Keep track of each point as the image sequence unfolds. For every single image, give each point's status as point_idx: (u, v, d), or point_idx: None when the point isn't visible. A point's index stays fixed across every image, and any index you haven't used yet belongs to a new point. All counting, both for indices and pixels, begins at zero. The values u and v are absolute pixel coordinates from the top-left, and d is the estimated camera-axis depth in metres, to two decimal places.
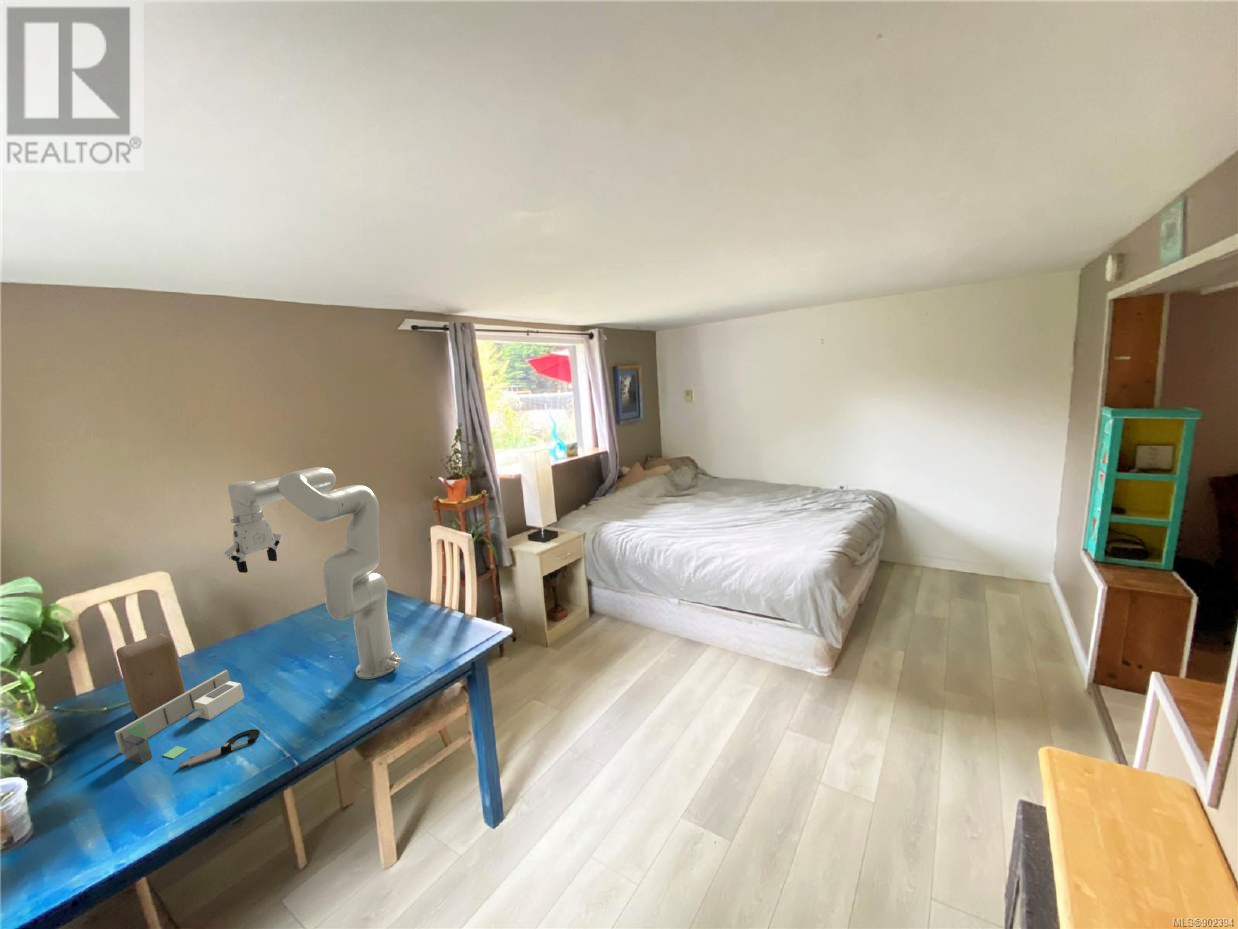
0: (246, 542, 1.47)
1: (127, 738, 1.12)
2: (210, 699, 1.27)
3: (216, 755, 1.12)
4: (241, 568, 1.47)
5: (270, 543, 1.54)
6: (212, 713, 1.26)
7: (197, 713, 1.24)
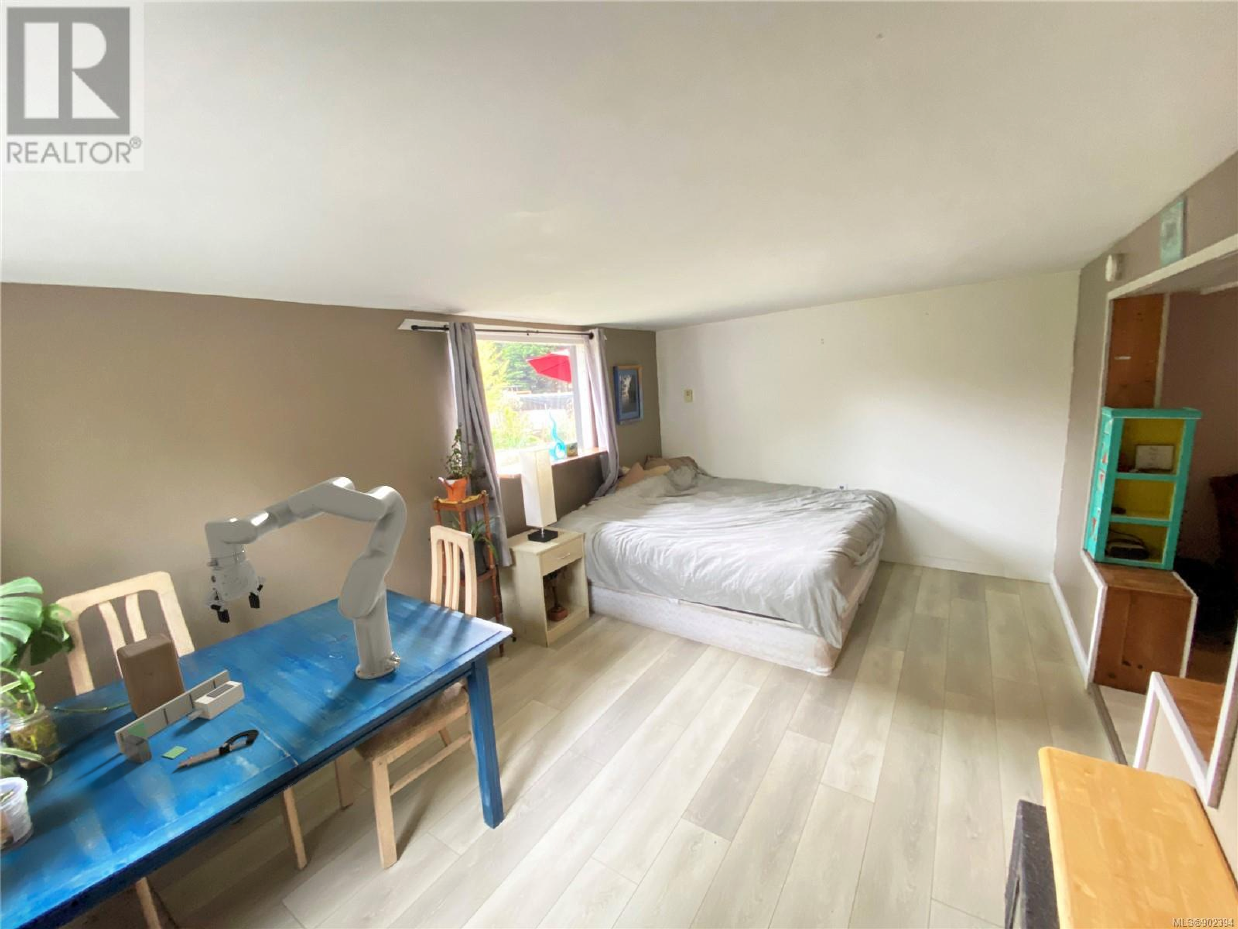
0: (225, 588, 1.29)
1: (127, 738, 1.12)
2: (211, 698, 1.27)
3: (214, 755, 1.12)
4: (222, 618, 1.30)
5: (253, 587, 1.36)
6: (213, 713, 1.26)
7: (198, 712, 1.24)
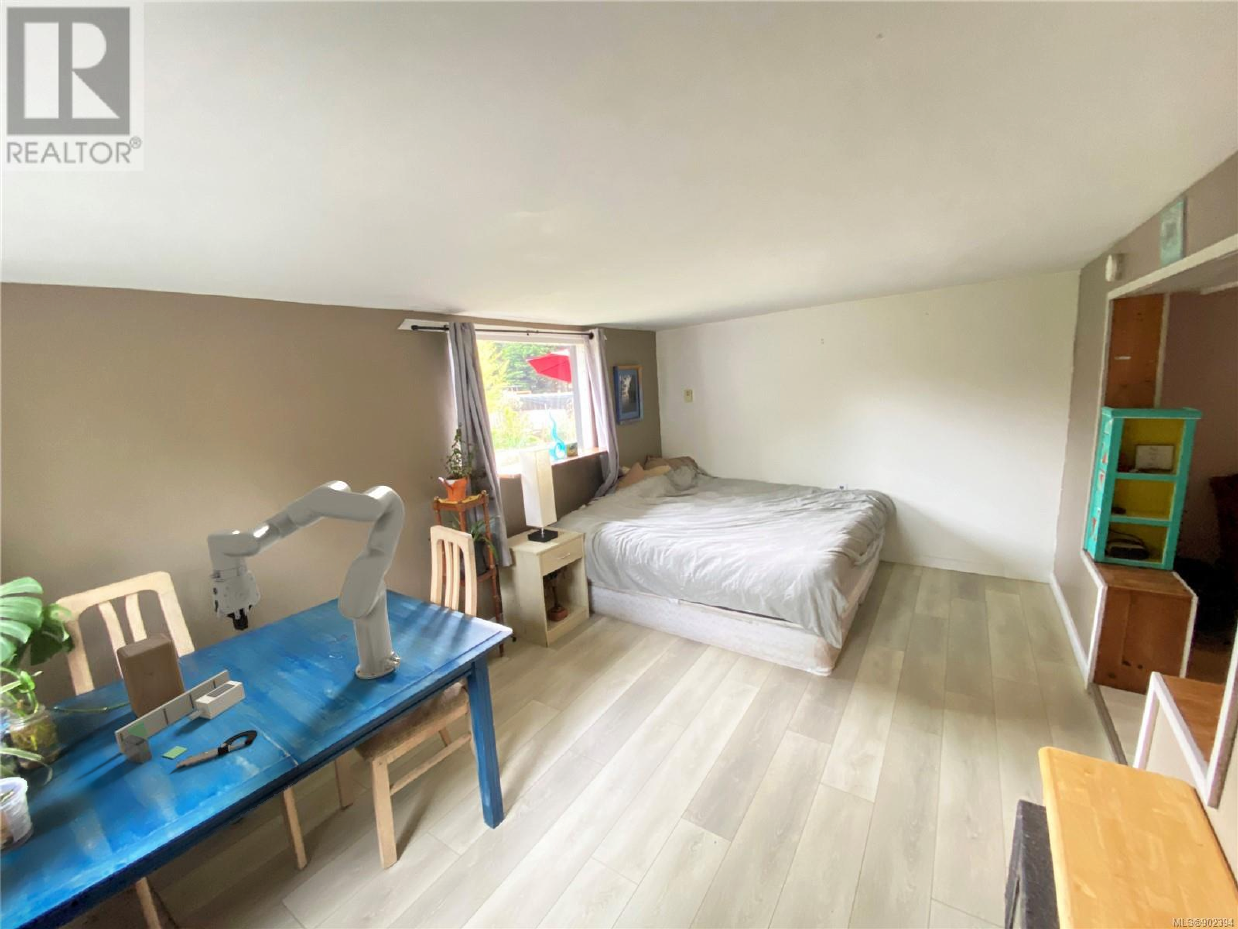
0: (227, 600, 1.29)
1: (127, 738, 1.12)
2: (211, 698, 1.27)
3: (213, 756, 1.12)
4: (238, 626, 1.34)
5: (255, 598, 1.36)
6: (213, 712, 1.26)
7: (198, 712, 1.24)
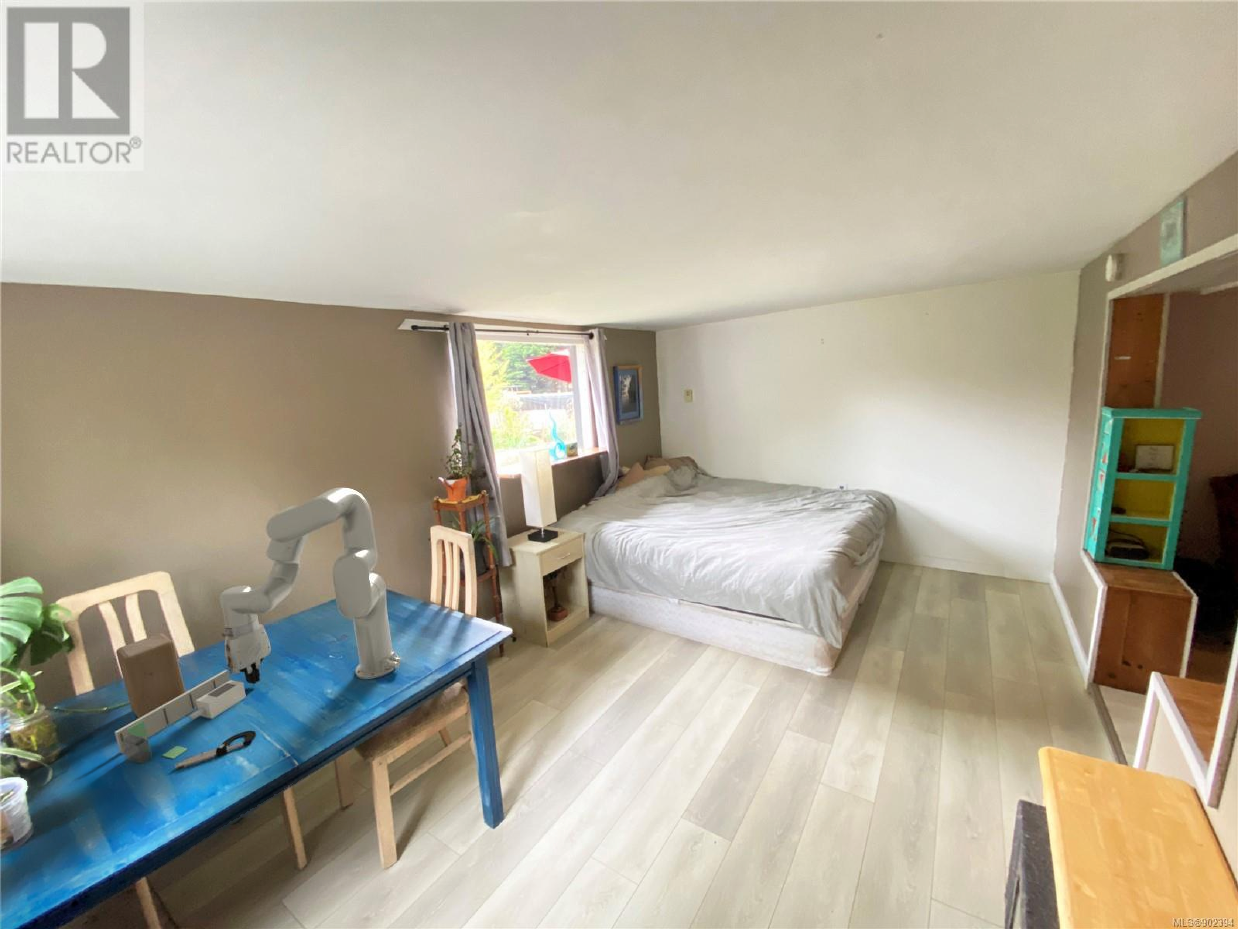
0: (239, 657, 1.33)
1: (127, 738, 1.12)
2: (212, 698, 1.27)
3: (211, 756, 1.12)
4: (250, 679, 1.37)
5: (266, 652, 1.40)
6: (214, 712, 1.26)
7: (199, 712, 1.25)
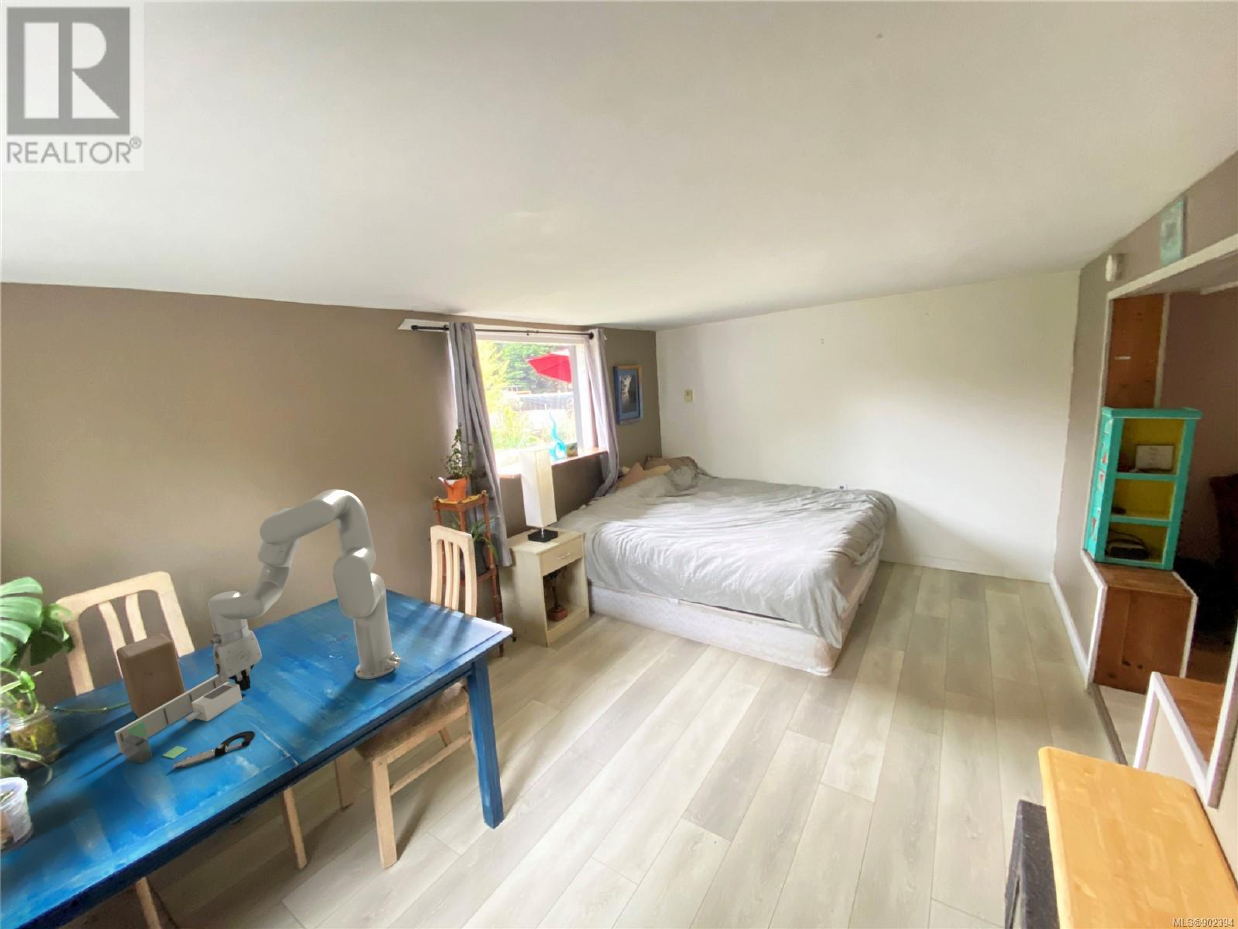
0: (228, 664, 1.30)
1: (127, 738, 1.12)
2: (208, 700, 1.26)
3: (210, 757, 1.12)
4: (240, 687, 1.35)
5: (256, 658, 1.37)
6: (209, 714, 1.25)
7: (194, 714, 1.24)
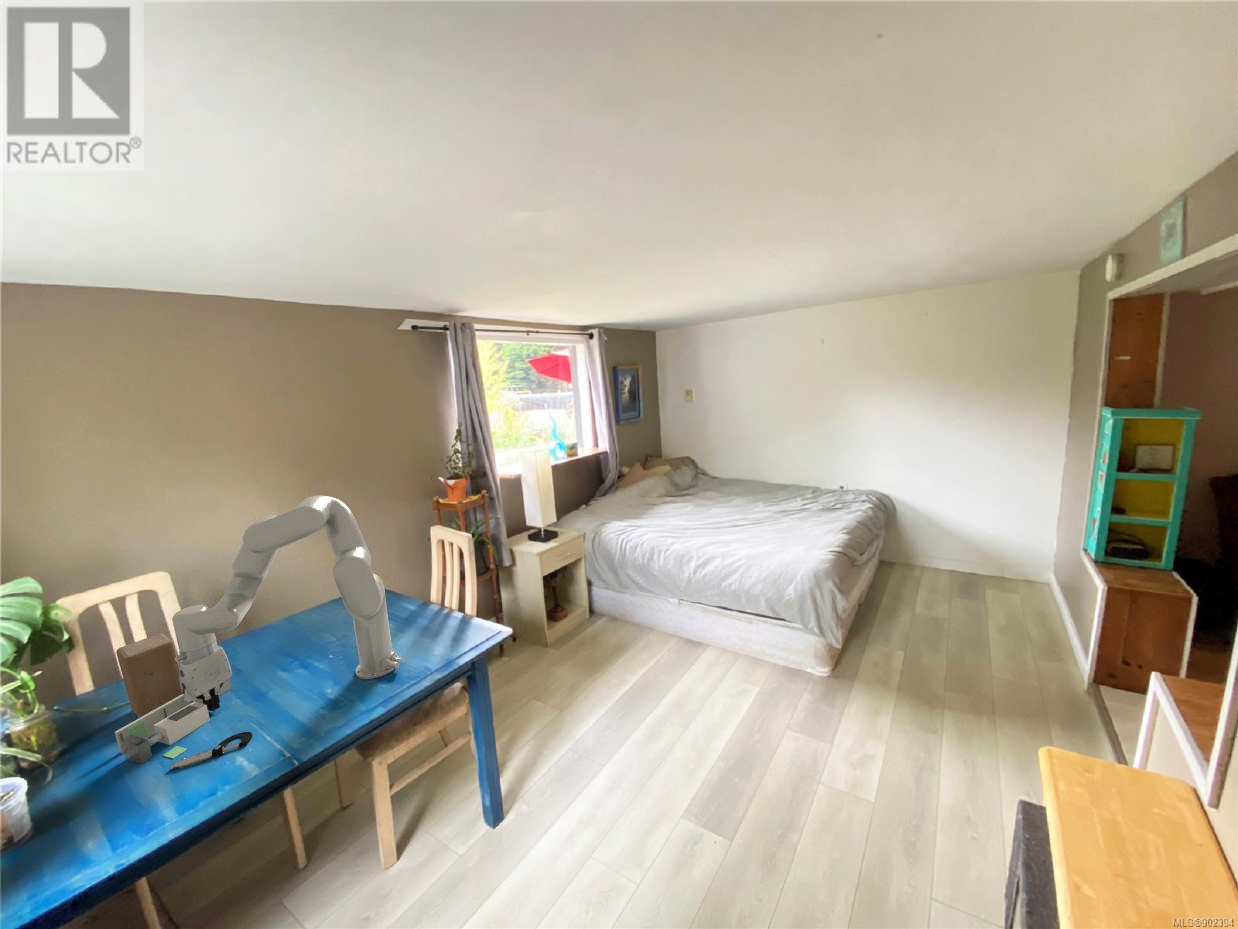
0: (194, 683, 1.22)
1: (127, 738, 1.12)
2: (171, 722, 1.18)
3: (207, 757, 1.11)
4: (208, 706, 1.27)
5: (226, 676, 1.29)
6: (173, 738, 1.17)
7: (156, 738, 1.16)
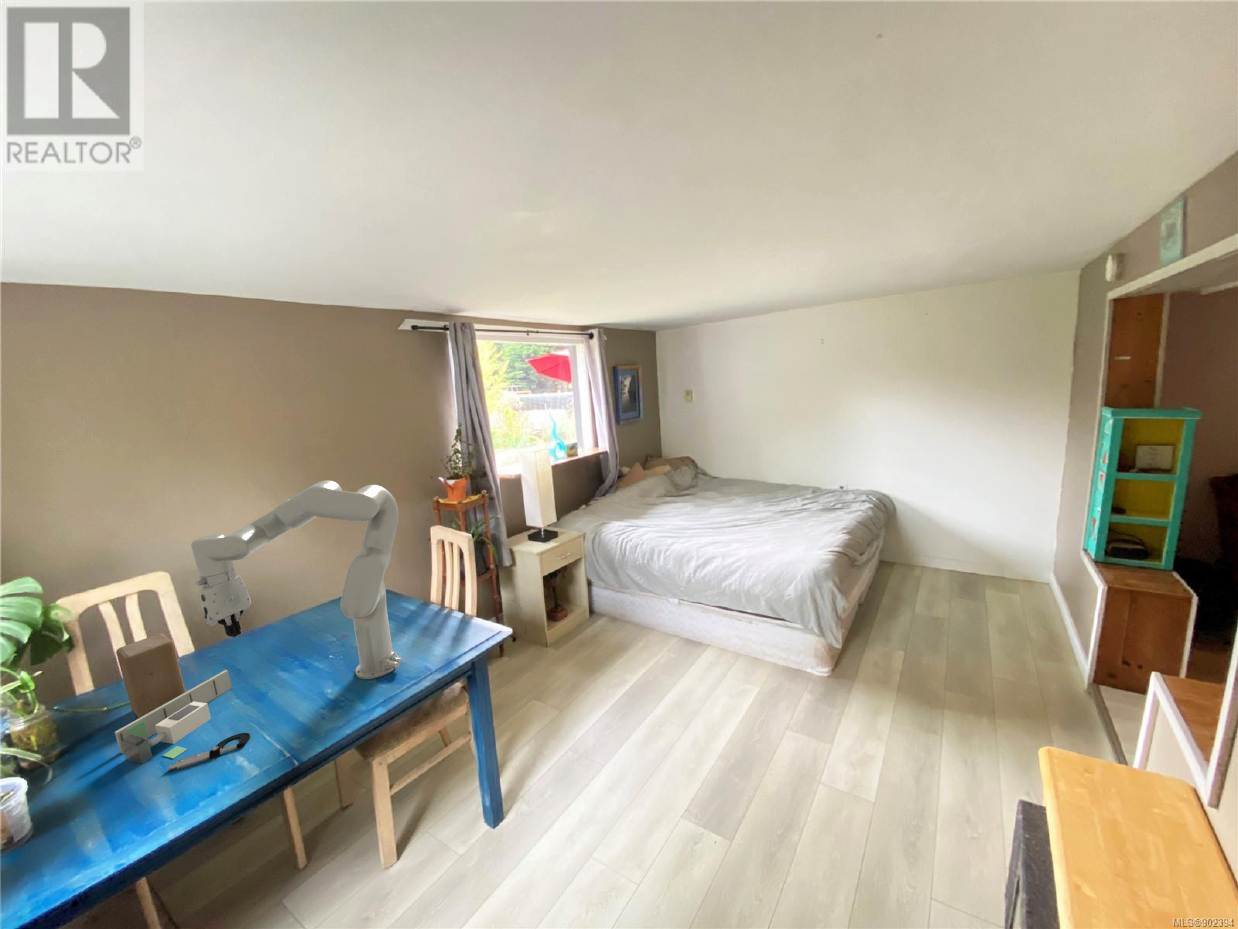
0: (216, 607, 1.26)
1: (127, 738, 1.12)
2: (174, 721, 1.18)
3: (205, 759, 1.11)
4: (230, 632, 1.31)
5: (246, 604, 1.33)
6: (176, 736, 1.18)
7: (159, 737, 1.16)
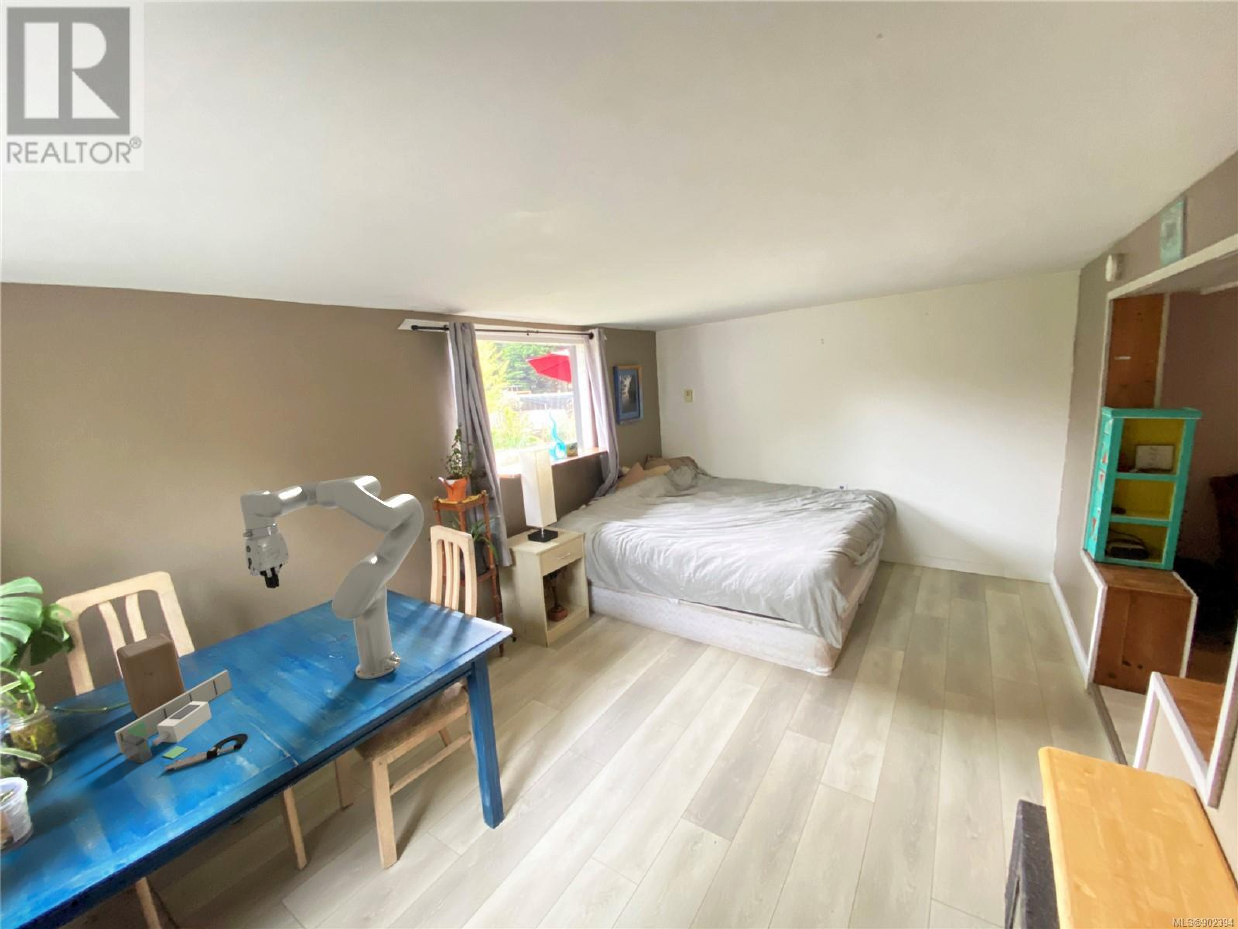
0: (259, 558, 1.35)
1: (127, 738, 1.12)
2: (176, 720, 1.19)
3: (202, 759, 1.11)
4: (269, 583, 1.39)
5: (285, 558, 1.42)
6: (179, 735, 1.18)
7: (163, 736, 1.16)
